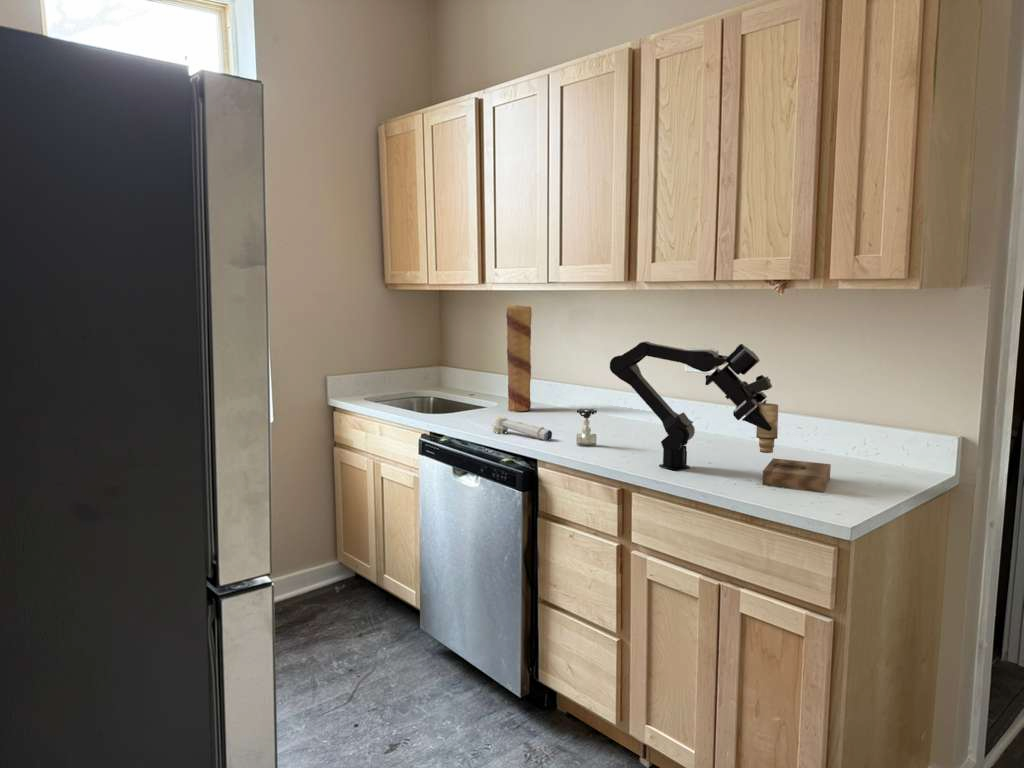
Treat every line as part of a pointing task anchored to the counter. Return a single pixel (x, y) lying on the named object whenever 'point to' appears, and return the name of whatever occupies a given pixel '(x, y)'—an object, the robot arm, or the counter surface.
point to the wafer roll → (519, 357)
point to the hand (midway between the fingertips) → (772, 428)
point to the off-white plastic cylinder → (520, 428)
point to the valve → (586, 429)
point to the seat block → (797, 475)
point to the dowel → (772, 418)
